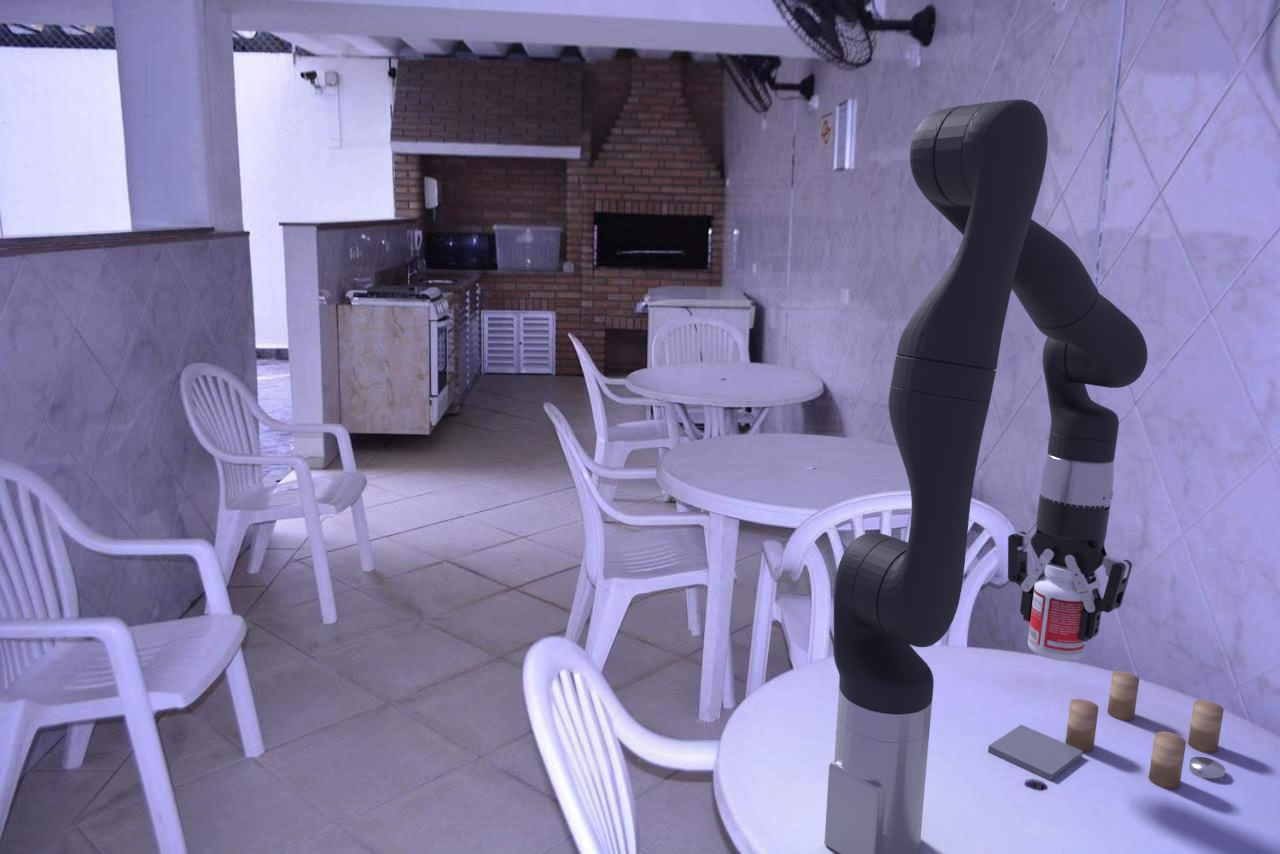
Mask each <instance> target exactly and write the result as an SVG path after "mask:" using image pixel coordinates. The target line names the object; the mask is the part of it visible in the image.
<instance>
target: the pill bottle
mask: <svg viewBox="0 0 1280 854" xmlns="http://www.w3.org/2000/svg"><path fill="white" fill-rule="evenodd" d="M1043 573H1044V574H1045V576H1043V577H1041V578H1040V579H1038V580H1037V581H1036V583H1035V586H1034V594H1033V602H1032V611H1031V619H1030V622H1029V629H1028V638H1027V645H1028V646H1027V647H1028V648H1029V649H1030V650H1031V651H1032V652H1033V653H1035V654H1036V655H1038V656H1041V657H1044V658H1046V659H1049V660H1053V661H1054V660H1055V661H1059V662H1071V661H1077V660H1079V659H1081V658H1082V657H1083V655H1084V651H1085V646H1086V645H1085V644H1086V642H1085V641H1082V640H1079V631H1080V624H1081V617H1082V611H1083V610H1085V607H1084V604H1083V601H1082V598H1081V595H1080V594H1079V593H1078V592H1077V590H1076V587H1075V584H1074V582H1073V579H1072V576H1071V571H1070V570H1069V569H1068V568H1066V567H1062V566H1059V565H1055V564H1052V563H1050V564H1046V567H1045V570H1044V572H1043ZM1085 579H1086V578H1085Z"/></svg>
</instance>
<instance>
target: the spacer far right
mask: <svg viewBox="0 0 1280 854" xmlns="http://www.w3.org/2000/svg"><path fill="white" fill-rule="evenodd" d="M1139 684H1140V678H1139V677H1138V676H1137V675H1136V674H1134V673H1131V672H1128V671H1123V670H1116V671H1113V672H1112V674H1111V681H1110V689H1109V690H1110V691H1109V698H1108V703H1107V704H1108V705H1107V714H1108V715H1109V716H1111V717H1112V718H1114V719H1116V720H1120V721H1126V722H1127V721H1132V720H1134V719H1135V716H1136V715H1135V713H1136V707H1137V706H1136V705H1137V698H1138V692H1139Z"/></svg>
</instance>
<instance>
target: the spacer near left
mask: <svg viewBox="0 0 1280 854" xmlns="http://www.w3.org/2000/svg"><path fill="white" fill-rule="evenodd" d="M1186 745H1187V742H1186V740H1185V739H1184V738H1183V736H1180V735H1179V734H1175V733H1173V732H1169V731H1157V732H1155V733H1154V737H1153V745H1152V751H1151V758H1150V759H1151V760H1150V766H1149V772H1148V773H1149V774H1148V779H1149V781H1150V783H1152V784H1154V785H1156V786H1157V787H1160V788H1164V789H1167V790H1176V789H1178V788H1180V785H1181V778H1182V772H1183V767H1184V766H1183V765H1184V759H1185V753H1186Z"/></svg>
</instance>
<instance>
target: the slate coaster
mask: <svg viewBox="0 0 1280 854" xmlns="http://www.w3.org/2000/svg"><path fill="white" fill-rule="evenodd" d="M987 752H988V753H990V754H992V755H995V756H997V757H999V758H1001V759H1003V760H1006V761H1008V762H1009V763H1012V764H1014V765H1016V766H1017V767H1021V768H1022V769H1025V770H1026V771H1029V772H1031V773H1033V774H1035V775H1038V776H1039V777H1042V778H1044V779H1046V780H1048V781H1053V780H1054V779H1055V778H1057V777H1058V776H1059V775H1061V774H1062V773H1063V772H1064V771H1066V770H1068V768H1070V767H1071V766H1072V765H1074V764H1075V763H1076V762H1078V761H1079V760H1080V759H1081V758H1083V755H1084V752H1083V751H1082V750H1079V749H1077V748H1075V747H1072V746H1070V745H1068V744H1066V742H1063V741H1060V740H1058V739H1056V738H1053V737H1051V736H1049V735H1046V734H1044V733H1041V732H1039V731H1037V730H1034V729H1032V728H1030V727H1028V726H1025V725H1023V724H1020V725H1018V726H1017V727H1015V728H1013V729H1012V730H1010V731H1009V732H1007V733H1006V734H1005V735H1003V736H1001V737H1000V738H998V739H996V740H995V741H993V742H992V743H990V744H989V745H988V750H987Z"/></svg>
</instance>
